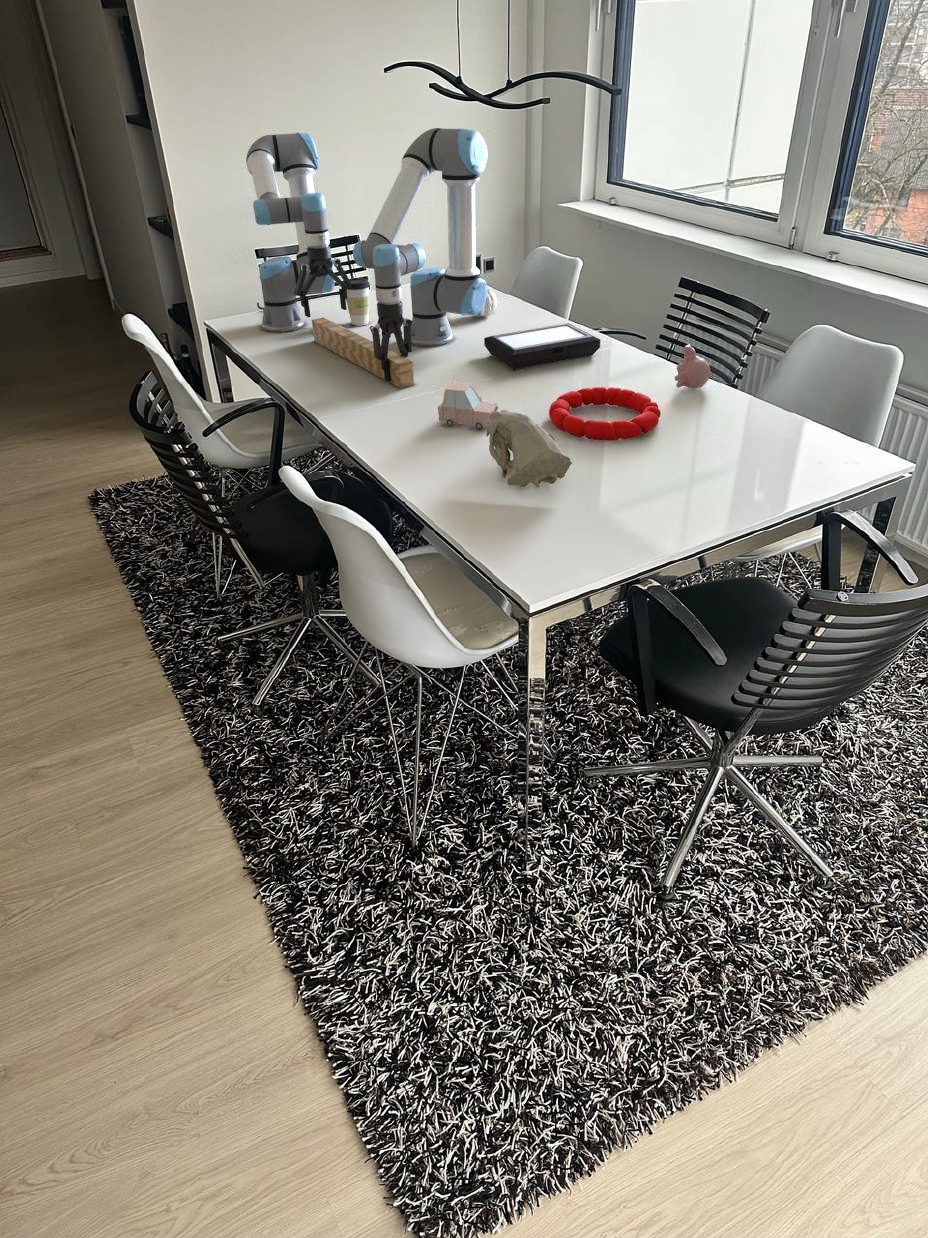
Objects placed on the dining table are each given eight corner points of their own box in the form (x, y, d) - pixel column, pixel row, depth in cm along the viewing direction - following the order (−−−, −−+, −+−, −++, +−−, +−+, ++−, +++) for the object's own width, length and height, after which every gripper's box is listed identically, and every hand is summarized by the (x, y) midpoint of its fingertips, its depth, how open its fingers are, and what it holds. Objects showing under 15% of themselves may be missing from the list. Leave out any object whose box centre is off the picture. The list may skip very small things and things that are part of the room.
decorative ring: (589, 435, 224) (684, 402, 234) (527, 398, 247) (617, 369, 256) (589, 461, 229) (683, 427, 238) (529, 422, 251) (617, 393, 260)
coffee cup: (372, 326, 323) (368, 283, 314) (345, 327, 323) (340, 284, 315) (374, 318, 331) (371, 276, 322) (348, 319, 331) (344, 277, 323)
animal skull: (496, 517, 219) (521, 479, 201) (463, 429, 225) (484, 384, 207) (557, 503, 225) (586, 465, 206) (523, 417, 231) (549, 373, 212)
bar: (314, 341, 311) (311, 319, 307) (325, 338, 313) (323, 317, 309) (401, 388, 270) (399, 364, 266) (413, 384, 272) (412, 361, 268)
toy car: (488, 432, 240) (488, 396, 234) (436, 426, 244) (434, 390, 239) (499, 419, 247) (499, 384, 241) (448, 413, 252) (447, 379, 246)
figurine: (665, 387, 264) (669, 347, 257) (693, 380, 268) (698, 340, 261) (686, 396, 257) (690, 355, 250) (714, 388, 262) (720, 348, 255)
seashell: (458, 316, 331) (457, 288, 325) (493, 309, 336) (492, 282, 331) (471, 322, 323) (471, 294, 318) (507, 316, 329) (507, 288, 323)
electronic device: (511, 352, 275) (484, 335, 290) (511, 372, 278) (484, 354, 294) (600, 336, 285) (569, 321, 300) (599, 356, 289) (569, 339, 304)
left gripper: (287, 253, 280) (297, 321, 292) (357, 241, 292) (363, 308, 303) (278, 249, 286) (287, 316, 297) (346, 238, 297) (353, 303, 309)
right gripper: (369, 309, 256) (376, 388, 269) (421, 298, 264) (425, 375, 277) (357, 303, 261) (364, 381, 275) (408, 293, 269) (413, 369, 282)
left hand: (326, 312), depth 301 cm, fingers open, 13 cm apart
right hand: (395, 378), depth 276 cm, fingers closed on bar, 5 cm apart
